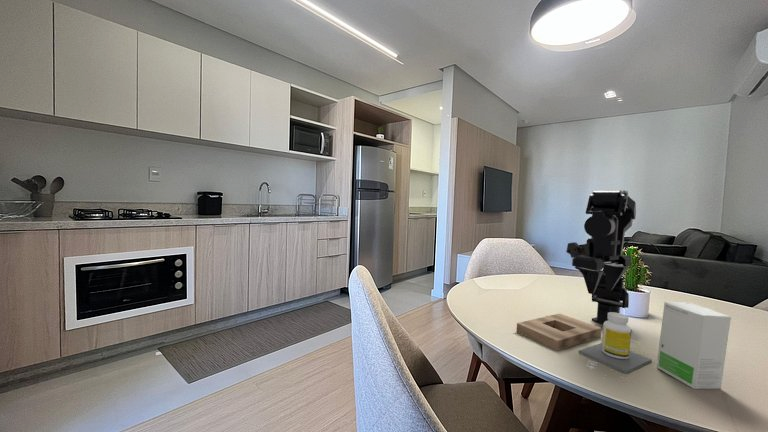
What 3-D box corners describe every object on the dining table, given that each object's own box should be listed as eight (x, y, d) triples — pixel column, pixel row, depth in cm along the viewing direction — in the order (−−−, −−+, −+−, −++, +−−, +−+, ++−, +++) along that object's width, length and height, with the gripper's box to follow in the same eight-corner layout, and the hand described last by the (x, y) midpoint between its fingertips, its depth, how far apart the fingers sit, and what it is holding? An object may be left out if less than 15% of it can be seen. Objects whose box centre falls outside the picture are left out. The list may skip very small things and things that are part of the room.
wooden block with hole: (559, 321, 96) (559, 313, 96) (600, 336, 85) (601, 328, 85) (516, 331, 87) (517, 323, 86) (557, 350, 76) (557, 340, 76)
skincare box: (655, 367, 69) (660, 300, 69) (681, 367, 70) (687, 301, 69) (696, 390, 61) (702, 314, 60) (725, 390, 62) (732, 314, 61)
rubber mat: (604, 343, 81) (605, 341, 81) (651, 361, 72) (651, 359, 72) (578, 352, 75) (579, 350, 75) (626, 373, 66) (626, 370, 66)
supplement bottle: (634, 361, 71) (637, 320, 70) (608, 358, 72) (611, 317, 71) (621, 350, 76) (624, 312, 75) (597, 347, 77) (599, 309, 77)
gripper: (591, 232, 95) (588, 281, 95) (554, 233, 86) (551, 287, 87) (634, 236, 85) (630, 291, 85) (597, 237, 76) (593, 299, 77)
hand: (600, 291), depth 84 cm, fingers open, 9 cm apart
